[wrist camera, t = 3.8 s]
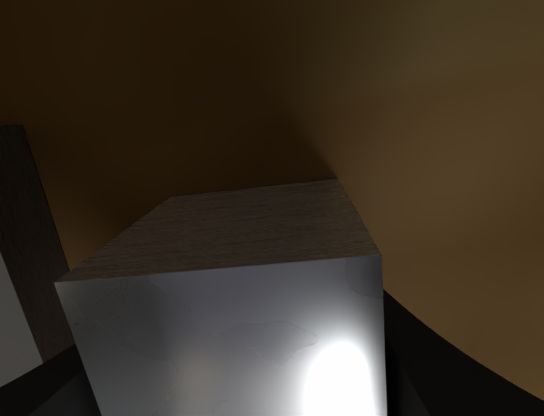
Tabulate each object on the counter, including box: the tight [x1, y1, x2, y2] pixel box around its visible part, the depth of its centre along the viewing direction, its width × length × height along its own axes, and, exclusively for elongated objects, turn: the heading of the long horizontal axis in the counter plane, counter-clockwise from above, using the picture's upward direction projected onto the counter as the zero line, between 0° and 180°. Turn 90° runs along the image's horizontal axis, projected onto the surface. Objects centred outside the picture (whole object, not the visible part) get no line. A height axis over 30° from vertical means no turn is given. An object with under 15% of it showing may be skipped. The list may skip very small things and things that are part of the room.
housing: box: [54, 179, 387, 416], centre depth 8 cm, size 7×5×5 cm
